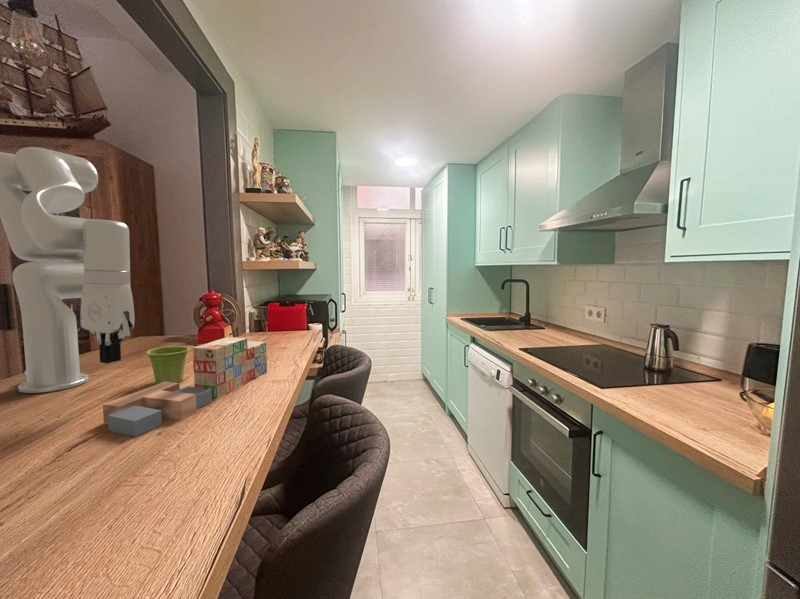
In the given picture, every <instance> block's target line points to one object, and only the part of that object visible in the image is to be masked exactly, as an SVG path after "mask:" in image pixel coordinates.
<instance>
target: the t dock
mask: <svg viewBox="0 0 800 599" xmlns="http://www.w3.org/2000/svg"><path fill="white" fill-rule="evenodd" d="M173 392H180V393H190V394H196V410H199V409H200V408H203V407H205V406H208V405H209V404H211V403H213V400H212V399H213V398H212V393H211V390H209V389H203V388H196V387H195V386H189V385H187V386H184V387H182V388H180V389H179V390H176V391H173ZM162 421H163V418H162V415H161V410H157V409H151V408H146V407H141V406H132V407H130V408H127V409H124V410H122V411H119V412H116V413H113V414H111V415H108V428H107V429H108V431H109V432H113V433H117V434H121V435H124V436H125V435H126V436H131V437H136V438H137V437H138V436H140V435H143V434H145V433H147V432H150V431H152V430H154V429H156V428H158V427H160V426H161V427H162V425H163V422H162Z"/></svg>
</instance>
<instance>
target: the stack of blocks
mask: <svg viewBox="0 0 800 599" xmlns="http://www.w3.org/2000/svg"><path fill="white" fill-rule="evenodd" d="M192 348H193V349H192V351H193V353H192V354H193V361H192V362H193V365H192V366H193V377H194V387H196V388H203V389H209V390H211V393H212V399H213V398H216V399H219V398H221V397H222V396H223V395H225V394H228V393H230V392H232V391H234V390H237V389H238V388H240V387H242V386H243V385H245V384H247V383H248V382H250V381H252V380H254V379H256V378H258V377H260V376H262V375H264V374H266V373H267V372H268V365H267V364H268V352H267V341H253V340H248V338H247V337H232V336H231V337H230V336H228V337H223V338H220V339H217V340H213V341H210V342H208V343H203V344H200V345H197V346H194V347H192Z"/></svg>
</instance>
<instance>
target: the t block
mask: <svg viewBox="0 0 800 599" xmlns="http://www.w3.org/2000/svg"><path fill="white" fill-rule="evenodd" d="M180 385H181V384H180V382H178V383H175V382H162V383H160V384H154V385H152V386H149V387H146V388H144V389H141V390H138V391H135V392H133V393H130V394H127V395H124V396H123V397H120V398H119V397H118V398H117V399H116V398H115V399H114V400H111V401H108V402H106V403H103V404H102V415H103V425H108V415H111V414H113V413H116V412H119V411H122V410H124V409H127V408H130V407H132V406H141V407H146V408H151V409H157V410H161V415H162V419H170V420H178V421H182V420H184V419H186V418H188V417H190V416H192V415H194V414H195V413H197V409H196V394H190V393H180V392H173V391H176V390H179V389H181V388H180Z"/></svg>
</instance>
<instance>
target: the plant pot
mask: <svg viewBox="0 0 800 599" xmlns="http://www.w3.org/2000/svg"><path fill="white" fill-rule="evenodd" d="M189 351H190V348H189V347H188V346H183V345H182V346H180V345H179V346H177V345H176V346H175V345H174V346H173V345H172V346H164V347H163V346H161V347H157V348H152V349H150V350H147V351H146V355H148V358H149V360H150V362H151V368H152V372H153V376H154V381H155V382H154V383H155V385H157V384H160V383H162V382H175V383H177V382H178V383H180V382H182V381H183V379H184V373H185V365H186V357H187V355H188V352H189Z"/></svg>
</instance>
